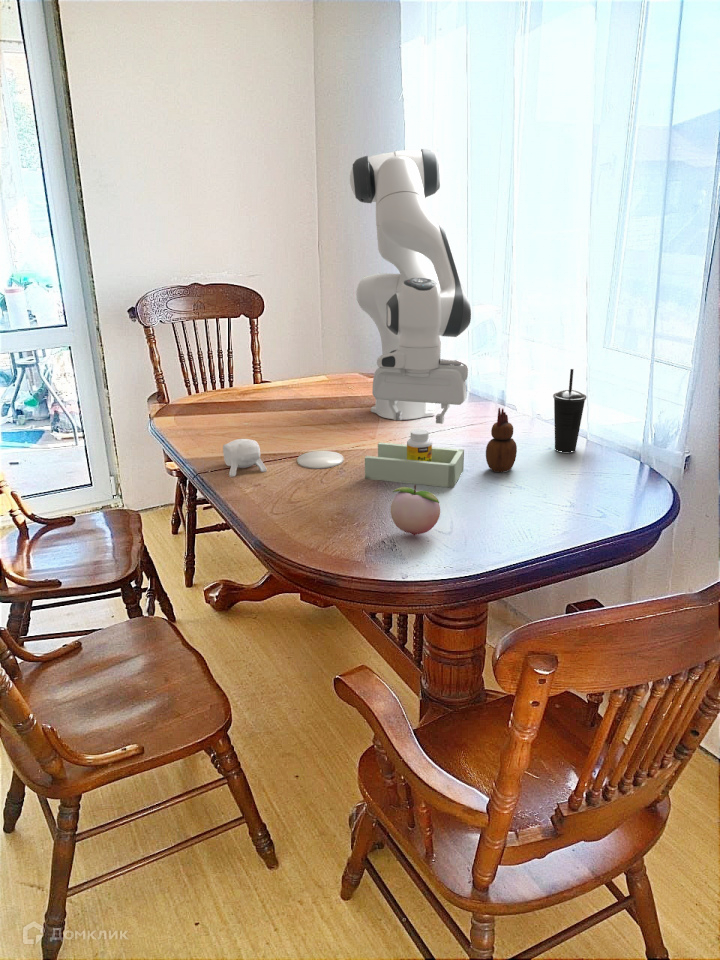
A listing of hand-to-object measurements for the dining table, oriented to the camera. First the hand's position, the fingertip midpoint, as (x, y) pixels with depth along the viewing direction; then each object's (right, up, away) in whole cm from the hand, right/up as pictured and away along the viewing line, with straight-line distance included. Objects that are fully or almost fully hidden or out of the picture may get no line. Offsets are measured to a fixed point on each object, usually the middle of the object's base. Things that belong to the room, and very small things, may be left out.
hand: (418, 421), depth 160 cm
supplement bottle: (0, -12, +5) cm, 13 cm away
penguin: (-39, -11, +10) cm, 42 cm away
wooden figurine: (+19, -11, +7) cm, 23 cm away
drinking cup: (+37, -6, +19) cm, 42 cm away
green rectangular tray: (-1, -12, +5) cm, 13 cm away
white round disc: (-22, -8, +15) cm, 28 cm away
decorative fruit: (-3, -23, -24) cm, 34 cm away
